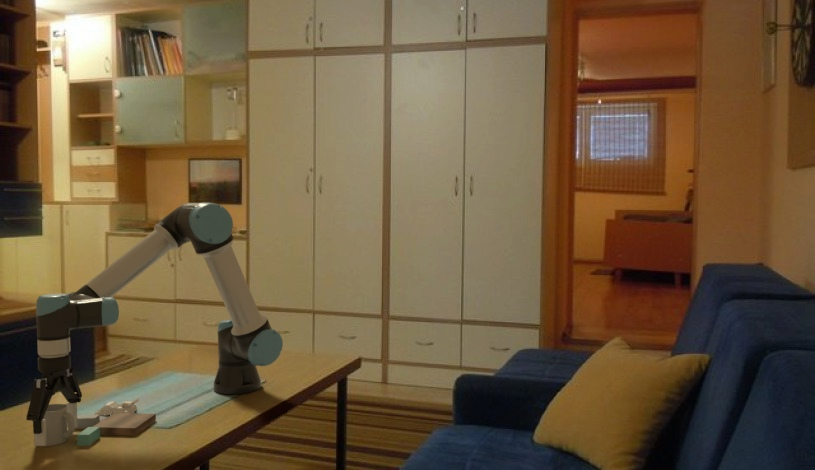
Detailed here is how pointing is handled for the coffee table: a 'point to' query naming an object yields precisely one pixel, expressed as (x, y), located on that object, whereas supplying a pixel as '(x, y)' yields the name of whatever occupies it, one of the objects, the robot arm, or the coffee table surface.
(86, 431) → the teal brick
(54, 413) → the cup
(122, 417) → the walnut block
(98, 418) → the grey brick
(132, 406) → the toy car
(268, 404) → the coffee table surface
